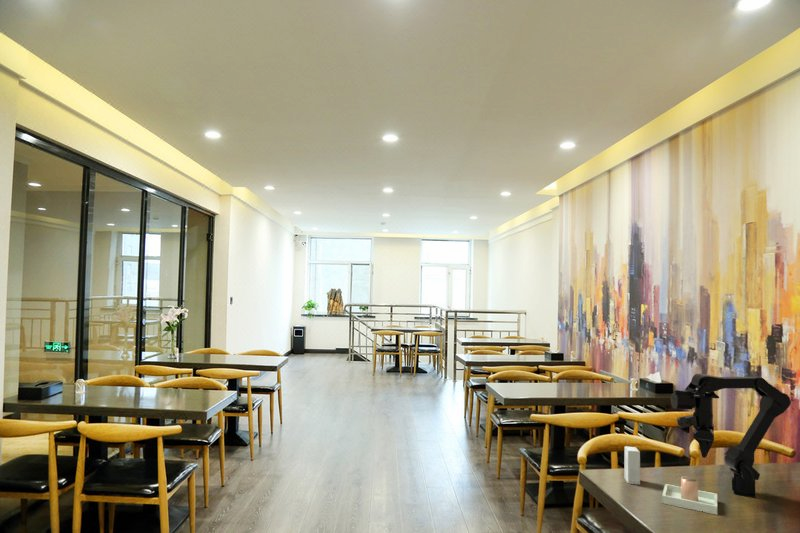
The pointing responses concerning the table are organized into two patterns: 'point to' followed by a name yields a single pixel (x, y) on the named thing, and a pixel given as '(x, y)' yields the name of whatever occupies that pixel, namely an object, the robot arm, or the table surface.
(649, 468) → the table surface
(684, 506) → the tray
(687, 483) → the cup
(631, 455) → the skincare box
